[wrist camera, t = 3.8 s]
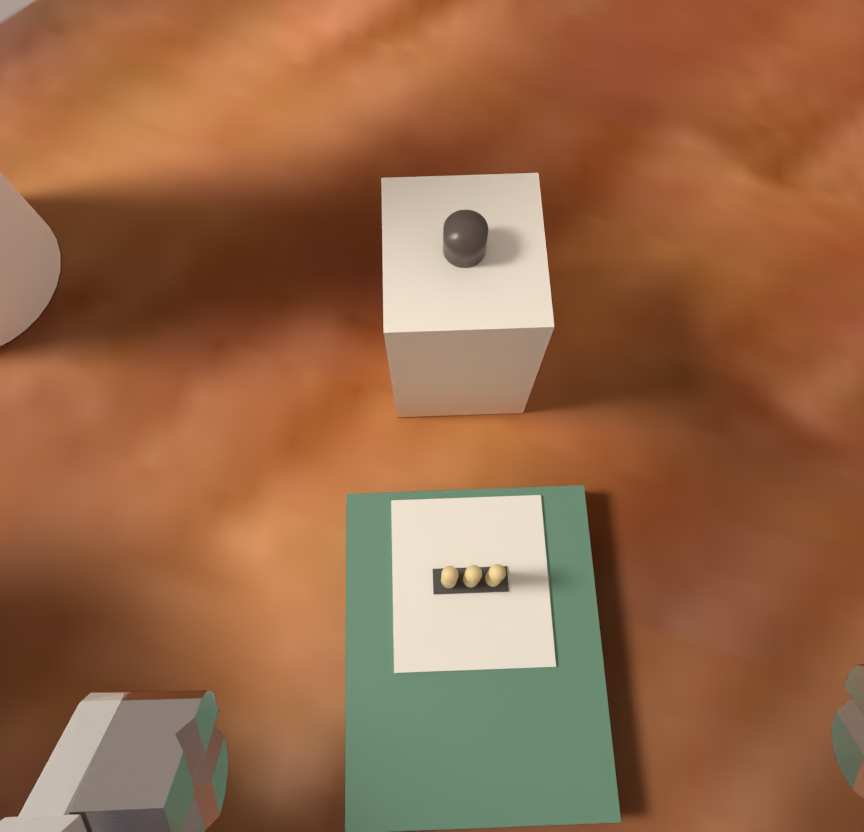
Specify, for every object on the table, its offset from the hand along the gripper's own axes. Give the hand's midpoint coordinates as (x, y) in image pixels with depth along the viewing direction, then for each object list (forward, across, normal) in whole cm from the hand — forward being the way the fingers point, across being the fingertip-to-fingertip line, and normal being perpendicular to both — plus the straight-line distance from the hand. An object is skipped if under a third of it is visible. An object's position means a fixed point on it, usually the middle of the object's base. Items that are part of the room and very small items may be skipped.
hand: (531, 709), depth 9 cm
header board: (+11, 0, -9) cm, 14 cm away
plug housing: (+18, 0, -2) cm, 18 cm away
